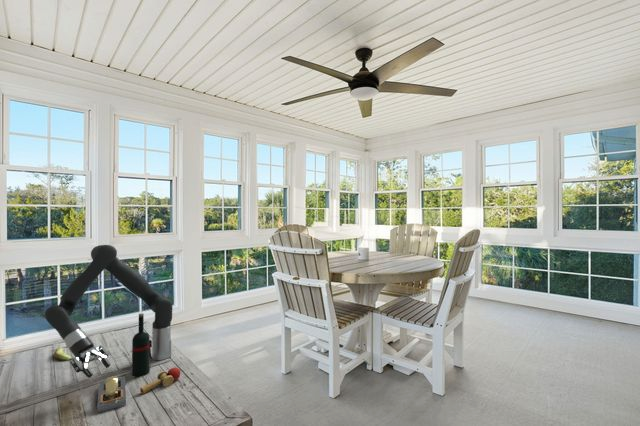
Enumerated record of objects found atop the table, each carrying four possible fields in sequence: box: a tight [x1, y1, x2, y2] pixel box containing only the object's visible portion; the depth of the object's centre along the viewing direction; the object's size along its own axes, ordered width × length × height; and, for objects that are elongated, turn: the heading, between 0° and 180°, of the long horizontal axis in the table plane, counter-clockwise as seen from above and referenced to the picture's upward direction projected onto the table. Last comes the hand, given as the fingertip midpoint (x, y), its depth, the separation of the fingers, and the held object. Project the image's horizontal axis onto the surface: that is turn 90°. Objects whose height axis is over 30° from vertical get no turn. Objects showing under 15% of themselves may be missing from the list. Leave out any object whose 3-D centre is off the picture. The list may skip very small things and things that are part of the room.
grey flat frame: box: [96, 376, 127, 414], centre depth 141 cm, size 10×22×3 cm, turn 33°
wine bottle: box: [131, 313, 153, 378], centre depth 162 cm, size 8×10×30 cm
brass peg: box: [104, 375, 119, 401], centre depth 137 cm, size 4×4×10 cm
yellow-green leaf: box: [44, 345, 77, 371], centre depth 179 cm, size 35×27×4 cm
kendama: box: [139, 366, 181, 395], centre depth 150 cm, size 8×6×18 cm
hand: (100, 371), depth 138 cm, fingers open, 8 cm apart
